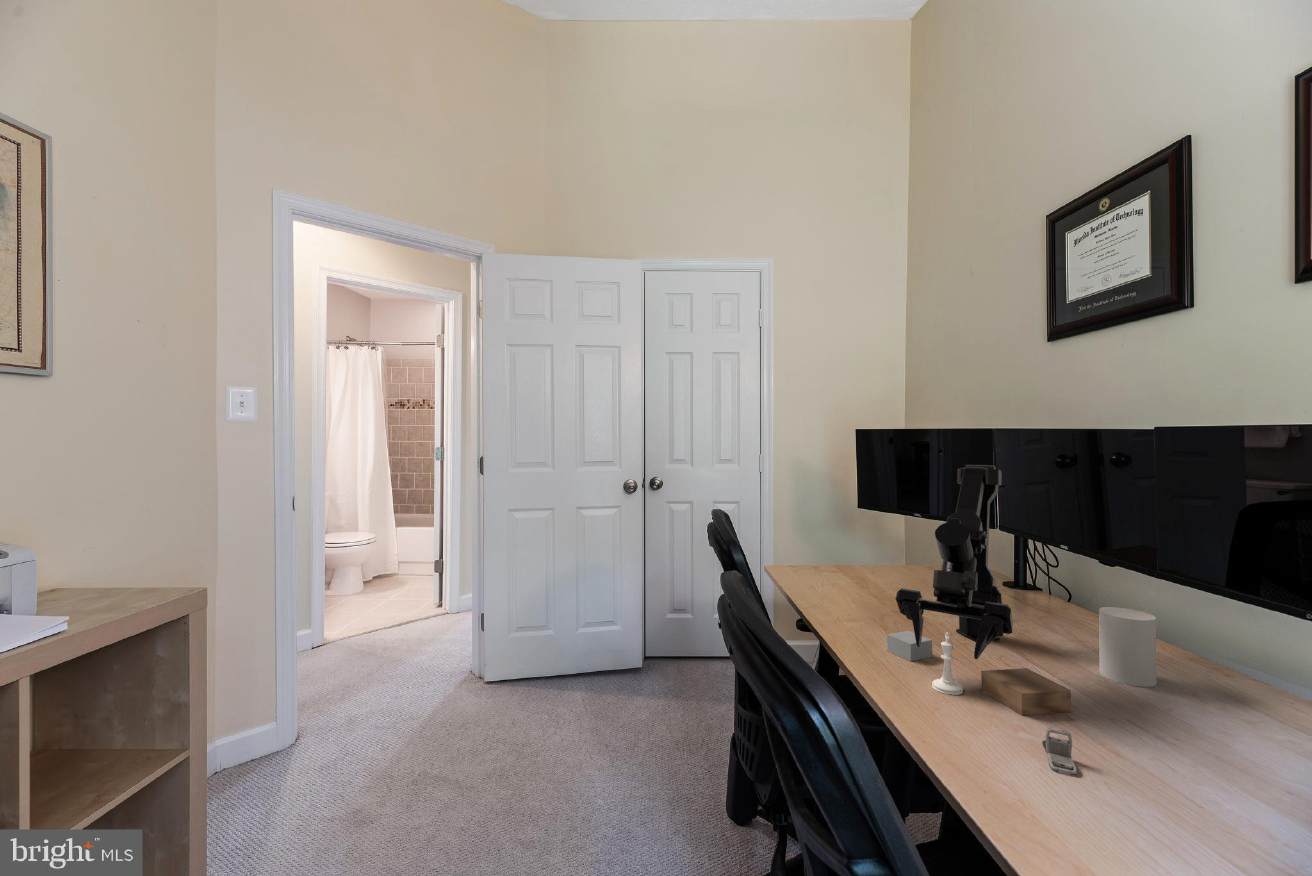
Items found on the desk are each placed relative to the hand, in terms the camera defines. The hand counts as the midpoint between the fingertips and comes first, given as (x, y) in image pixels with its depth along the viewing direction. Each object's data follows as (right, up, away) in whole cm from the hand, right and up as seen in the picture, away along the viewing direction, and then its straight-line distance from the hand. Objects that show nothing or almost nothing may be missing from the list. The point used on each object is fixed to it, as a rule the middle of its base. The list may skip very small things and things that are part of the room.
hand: (945, 651), depth 97 cm
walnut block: (+11, -7, -4) cm, 14 cm away
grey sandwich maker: (+5, -7, -21) cm, 23 cm away
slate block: (+1, -7, +17) cm, 19 cm away
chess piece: (+1, -7, +1) cm, 7 cm away
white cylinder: (+37, -7, +6) cm, 39 cm away
